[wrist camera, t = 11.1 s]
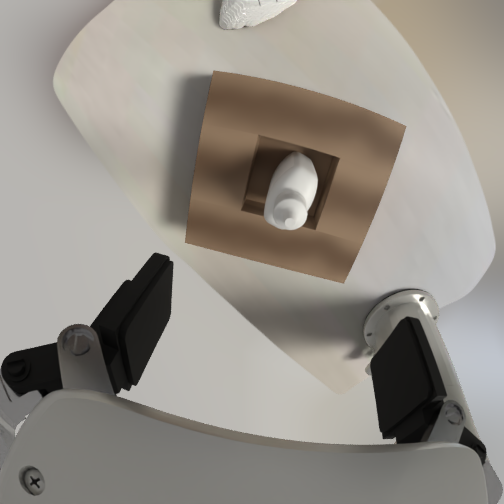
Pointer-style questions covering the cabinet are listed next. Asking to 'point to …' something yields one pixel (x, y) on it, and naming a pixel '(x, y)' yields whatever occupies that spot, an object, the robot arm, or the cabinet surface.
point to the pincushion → (250, 12)
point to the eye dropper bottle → (291, 192)
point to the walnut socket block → (267, 160)
